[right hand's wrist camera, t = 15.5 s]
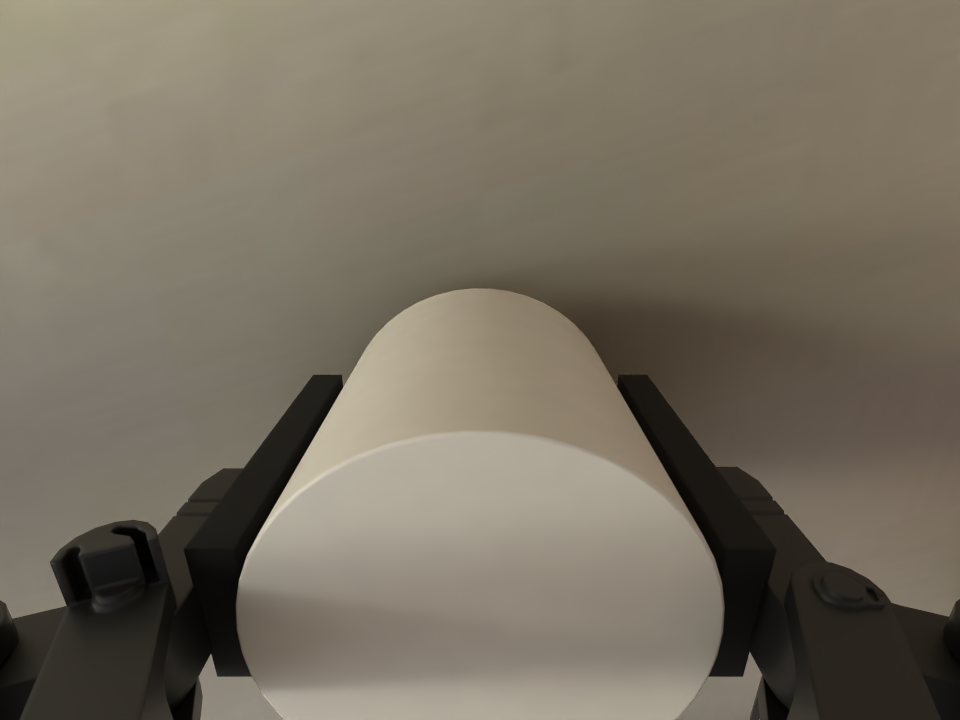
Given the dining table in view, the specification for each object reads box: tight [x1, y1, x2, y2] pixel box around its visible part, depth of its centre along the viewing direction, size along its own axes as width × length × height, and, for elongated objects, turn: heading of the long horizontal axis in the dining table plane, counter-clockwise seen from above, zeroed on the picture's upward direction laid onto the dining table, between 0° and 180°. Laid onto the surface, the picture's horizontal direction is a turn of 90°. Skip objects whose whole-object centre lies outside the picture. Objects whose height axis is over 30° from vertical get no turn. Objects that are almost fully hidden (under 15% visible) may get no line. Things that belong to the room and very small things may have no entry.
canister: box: [236, 288, 725, 720], centre depth 11 cm, size 7×7×7 cm
